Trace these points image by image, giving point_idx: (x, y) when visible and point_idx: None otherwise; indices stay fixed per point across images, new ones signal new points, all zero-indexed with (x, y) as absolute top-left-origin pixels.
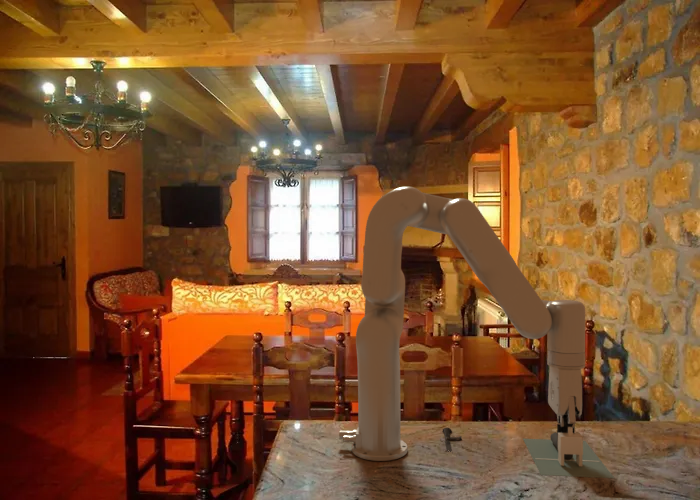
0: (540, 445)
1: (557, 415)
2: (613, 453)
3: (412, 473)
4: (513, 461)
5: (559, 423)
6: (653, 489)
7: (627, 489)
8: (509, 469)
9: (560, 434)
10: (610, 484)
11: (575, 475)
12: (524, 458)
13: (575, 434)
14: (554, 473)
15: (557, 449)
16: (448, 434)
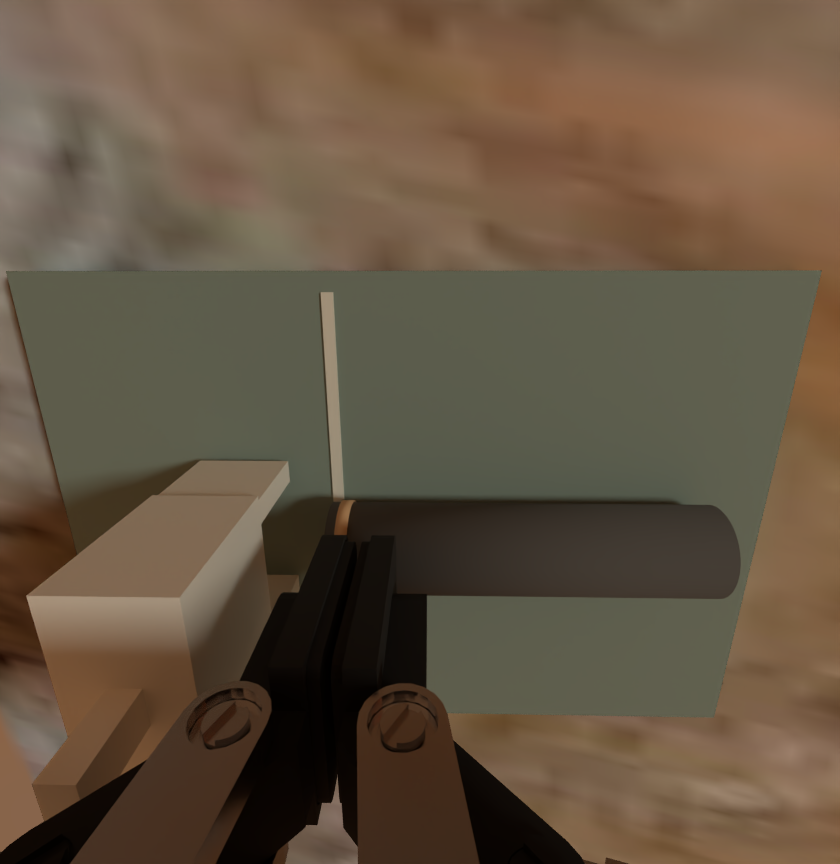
0: (635, 398)
1: (436, 798)
2: (548, 790)
3: None
4: (333, 94)
5: (377, 703)
6: None
7: (57, 715)
8: (143, 19)
9: (110, 611)
10: None
11: (79, 514)
12: (414, 214)
13: None
14: (66, 382)
15: (460, 504)
16: None
